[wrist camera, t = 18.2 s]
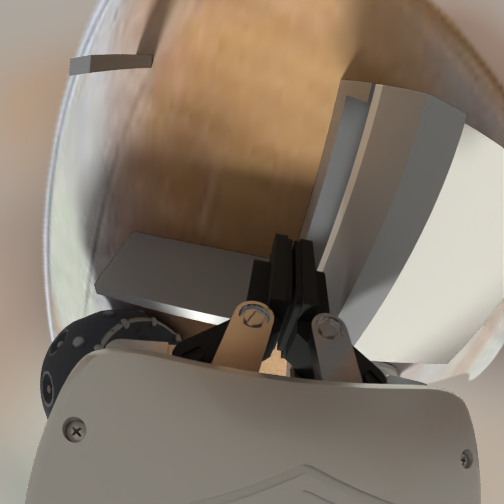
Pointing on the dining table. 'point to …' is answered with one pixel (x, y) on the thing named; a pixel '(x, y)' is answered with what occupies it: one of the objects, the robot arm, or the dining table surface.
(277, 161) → the dining table surface
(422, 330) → the lid
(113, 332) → the studded black wheel
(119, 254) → the housing
